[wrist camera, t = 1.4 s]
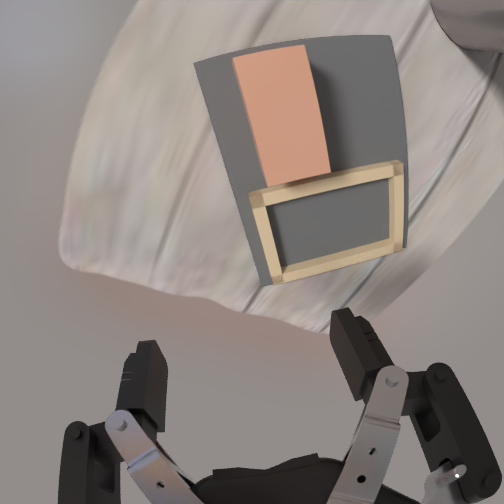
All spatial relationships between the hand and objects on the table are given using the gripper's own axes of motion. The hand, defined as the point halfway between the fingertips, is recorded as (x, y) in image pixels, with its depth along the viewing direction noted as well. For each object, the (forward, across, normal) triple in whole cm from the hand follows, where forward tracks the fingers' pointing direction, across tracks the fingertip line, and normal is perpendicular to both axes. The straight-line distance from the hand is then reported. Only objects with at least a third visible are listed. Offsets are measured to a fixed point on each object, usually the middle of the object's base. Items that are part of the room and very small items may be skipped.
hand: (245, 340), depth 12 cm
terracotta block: (+16, -5, -8) cm, 19 cm away
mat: (+16, -10, -3) cm, 19 cm away
